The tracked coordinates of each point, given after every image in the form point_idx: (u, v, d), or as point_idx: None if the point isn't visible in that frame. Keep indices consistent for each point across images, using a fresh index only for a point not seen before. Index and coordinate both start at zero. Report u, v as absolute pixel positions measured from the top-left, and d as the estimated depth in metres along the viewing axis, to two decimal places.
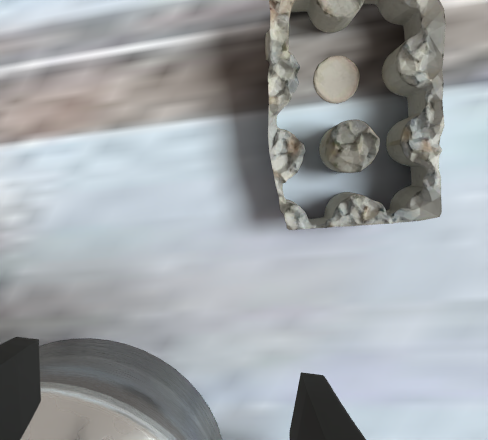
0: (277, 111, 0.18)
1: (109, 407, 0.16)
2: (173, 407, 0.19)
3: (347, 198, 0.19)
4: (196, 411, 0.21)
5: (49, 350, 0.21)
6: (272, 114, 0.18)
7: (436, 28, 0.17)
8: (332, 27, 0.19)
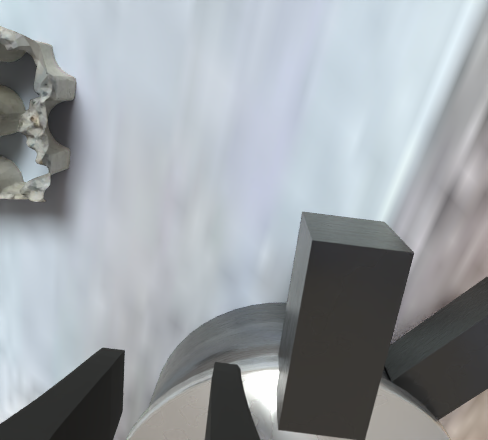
0: None
1: (141, 421, 0.17)
2: (206, 350, 0.20)
3: (23, 132, 0.17)
4: (233, 324, 0.21)
5: None
6: None
7: None
8: None
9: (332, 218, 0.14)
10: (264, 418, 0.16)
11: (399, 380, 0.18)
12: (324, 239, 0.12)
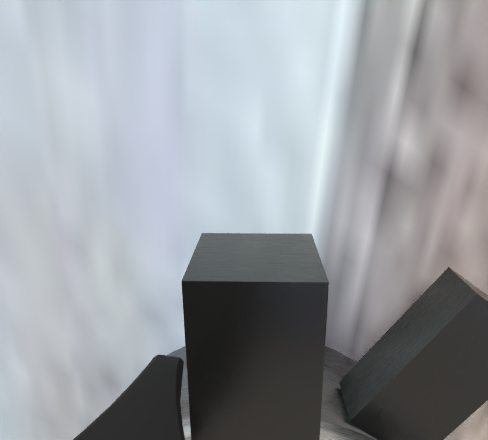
0: None
1: None
2: None
3: None
4: None
5: None
6: None
7: None
8: None
9: (238, 238, 0.11)
10: None
11: (358, 419, 0.14)
12: (202, 276, 0.09)
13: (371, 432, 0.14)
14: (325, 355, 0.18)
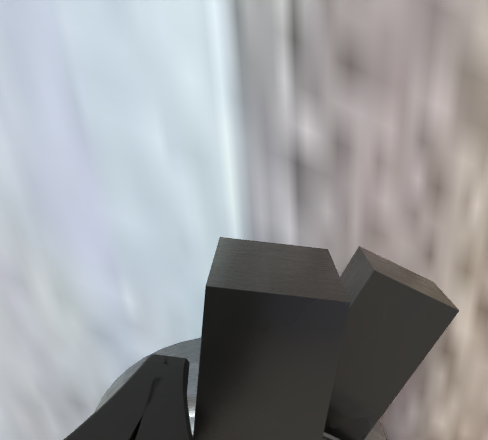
0: None
1: None
2: None
3: None
4: None
5: None
6: None
7: None
8: None
9: (256, 246, 0.11)
10: None
11: None
12: (225, 283, 0.09)
13: None
14: None
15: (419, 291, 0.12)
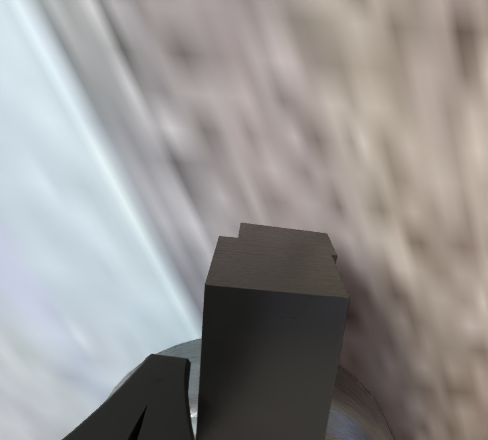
0: None
1: None
2: None
3: None
4: None
5: None
6: None
7: None
8: None
9: (256, 244, 0.11)
10: None
11: None
12: (224, 281, 0.09)
13: None
14: None
15: None
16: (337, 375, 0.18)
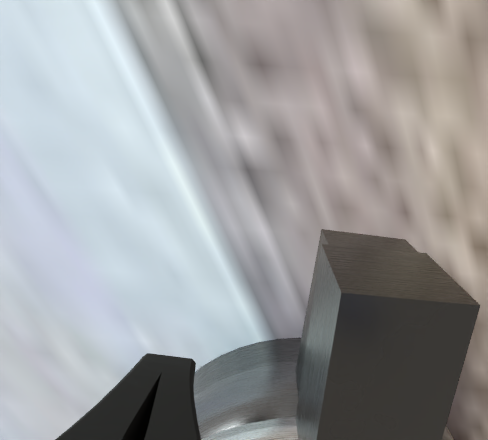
0: None
1: None
2: None
3: None
4: None
5: None
6: None
7: None
8: None
9: (360, 252, 0.11)
10: None
11: None
12: (357, 289, 0.09)
13: None
14: (287, 348, 0.18)
15: None
16: None
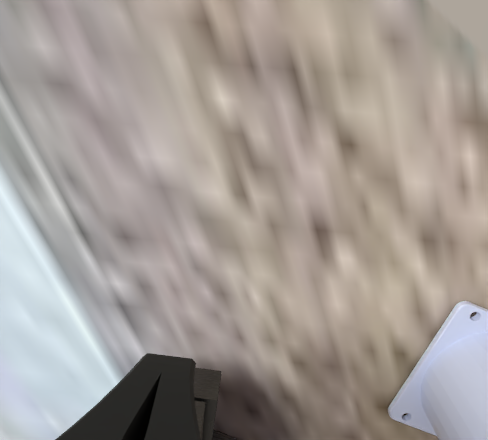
0: None
1: None
2: None
3: None
4: None
5: None
6: None
7: None
8: None
9: None
10: None
11: None
12: None
13: None
14: None
15: None
16: None
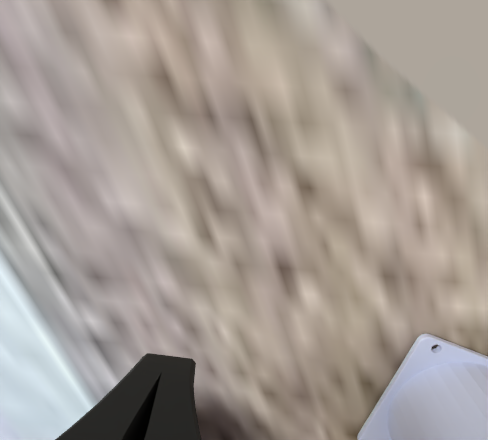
0: None
1: None
2: None
3: None
4: None
5: None
6: None
7: None
8: None
9: None
10: None
11: None
12: None
13: None
14: None
15: None
16: None
